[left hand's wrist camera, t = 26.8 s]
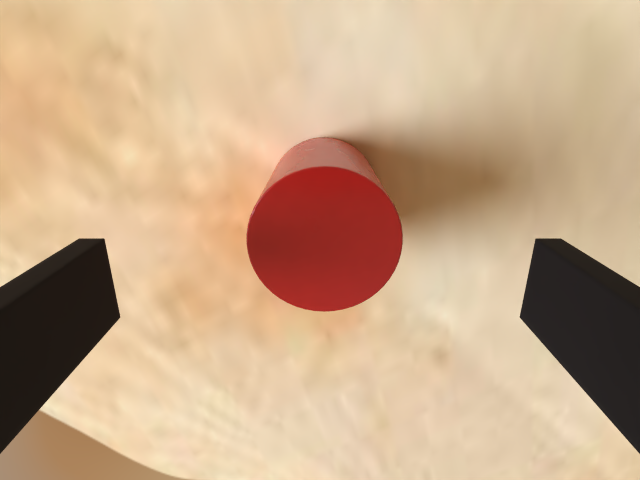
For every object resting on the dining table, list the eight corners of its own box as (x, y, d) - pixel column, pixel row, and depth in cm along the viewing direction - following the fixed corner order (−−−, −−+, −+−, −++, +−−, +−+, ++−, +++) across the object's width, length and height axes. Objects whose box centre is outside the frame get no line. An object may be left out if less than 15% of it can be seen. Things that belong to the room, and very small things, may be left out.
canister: (250, 181, 21) (213, 231, 14) (333, 114, 20) (340, 131, 13) (314, 257, 23) (311, 336, 16) (396, 199, 22) (432, 257, 14)
